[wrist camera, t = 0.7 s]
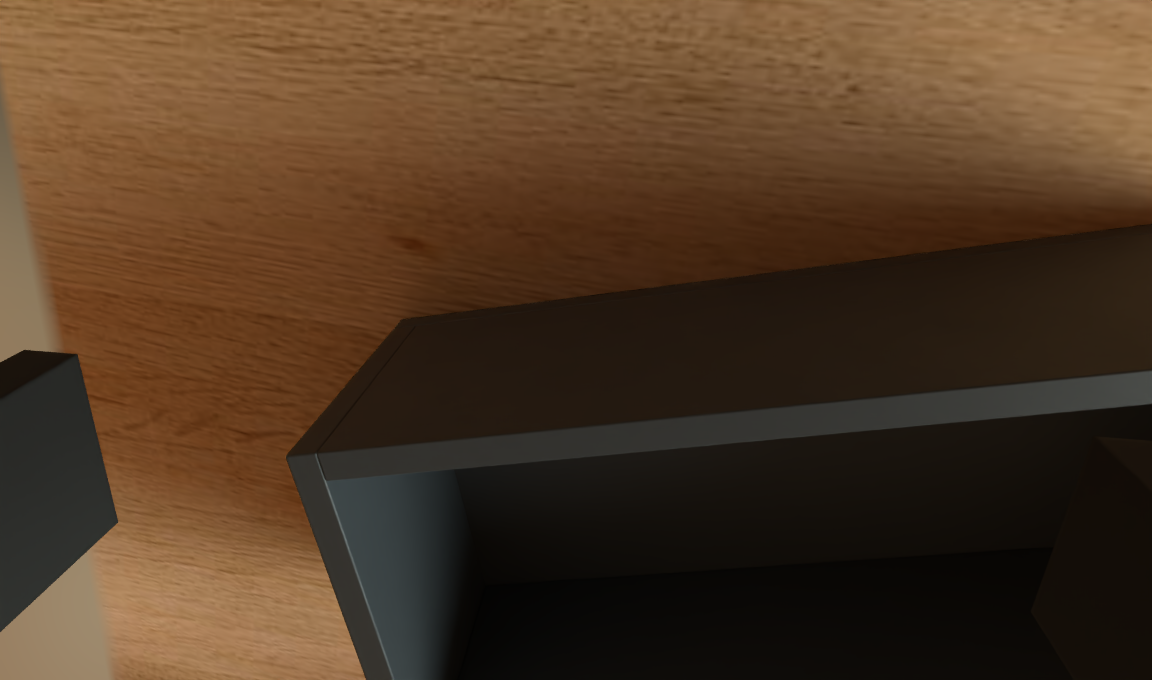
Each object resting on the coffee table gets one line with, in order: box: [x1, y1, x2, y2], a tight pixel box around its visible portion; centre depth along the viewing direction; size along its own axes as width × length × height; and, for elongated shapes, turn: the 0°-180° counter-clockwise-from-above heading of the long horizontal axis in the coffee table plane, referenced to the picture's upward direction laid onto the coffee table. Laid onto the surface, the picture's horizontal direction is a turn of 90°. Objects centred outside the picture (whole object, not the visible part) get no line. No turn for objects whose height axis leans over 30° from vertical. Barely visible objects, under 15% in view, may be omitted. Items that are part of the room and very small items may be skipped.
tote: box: [286, 224, 1152, 680], centre depth 22 cm, size 26×12×9 cm, turn 100°
